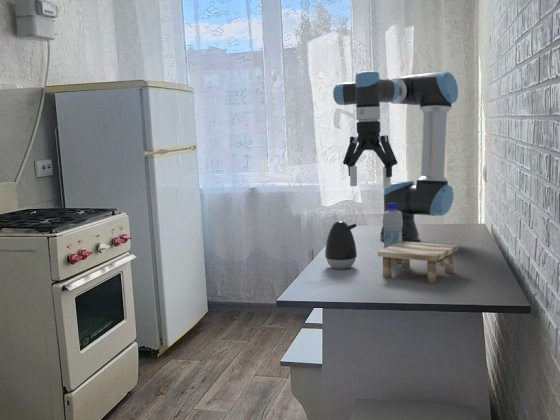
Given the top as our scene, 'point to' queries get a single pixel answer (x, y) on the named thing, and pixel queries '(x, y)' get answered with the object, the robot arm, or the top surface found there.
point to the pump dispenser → (341, 246)
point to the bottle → (392, 225)
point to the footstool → (419, 257)
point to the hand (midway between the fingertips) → (369, 186)
